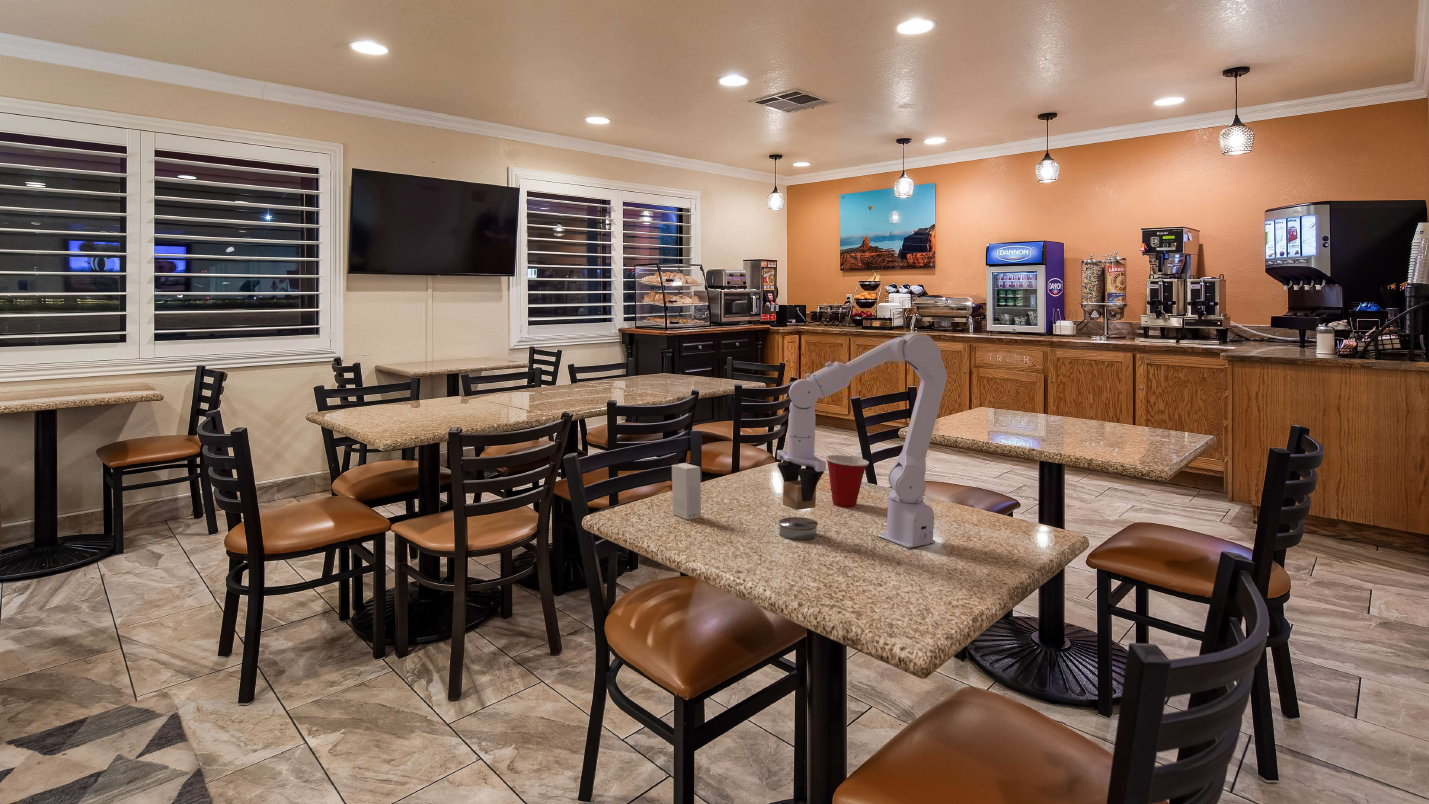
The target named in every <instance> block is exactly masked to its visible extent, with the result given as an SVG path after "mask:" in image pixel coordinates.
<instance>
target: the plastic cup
mask: <svg viewBox="0 0 1429 804" xmlns="http://www.w3.org/2000/svg"><path fill="white" fill-rule="evenodd" d="M825 460H826V464H827V468H828V476H829V484H830V485H829V486H830V487H829V488H830V493H831V499H832V501H831V502H832V505H834V506H835V505H837V506H836V507H839V506H841V507H840V508H853V507H852V506H854V507H856V506H855V505H857V502H858V499H859V494H860V490H861V486H862V483H863V477H864V474H865V470H866V469H867V466H868V465H870V464H869V463H870V462H869V461H868V460H867V459H865V458H864V459H863V458H860V457H857V456H850V455H845V454H844V455H840V454H828V455H826V456H825Z"/></svg>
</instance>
